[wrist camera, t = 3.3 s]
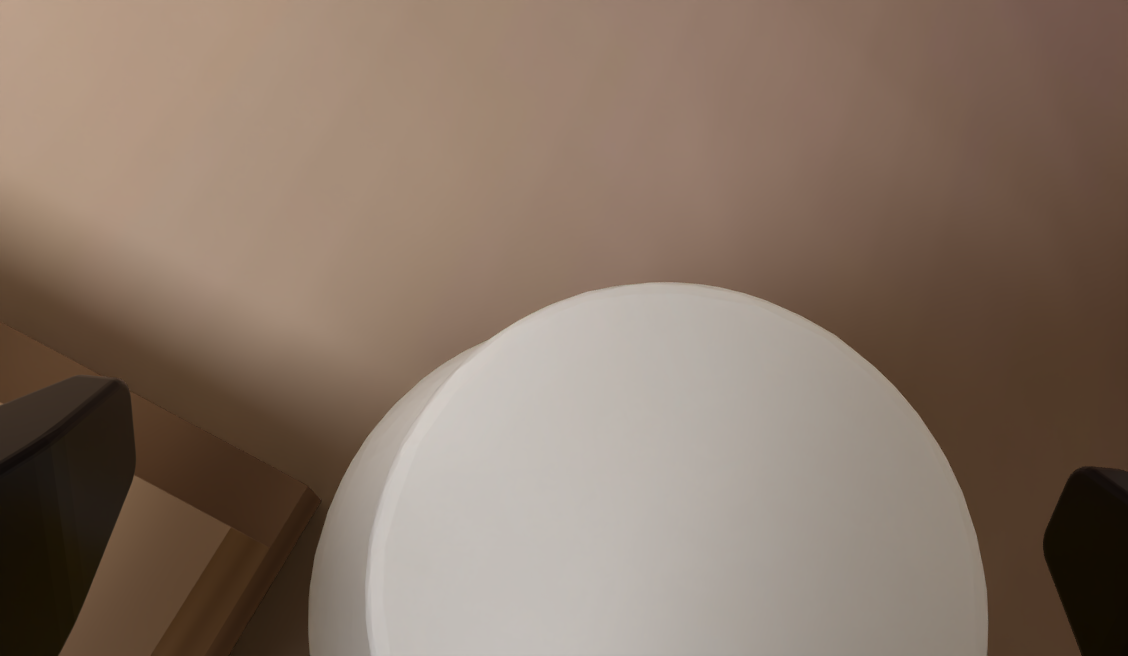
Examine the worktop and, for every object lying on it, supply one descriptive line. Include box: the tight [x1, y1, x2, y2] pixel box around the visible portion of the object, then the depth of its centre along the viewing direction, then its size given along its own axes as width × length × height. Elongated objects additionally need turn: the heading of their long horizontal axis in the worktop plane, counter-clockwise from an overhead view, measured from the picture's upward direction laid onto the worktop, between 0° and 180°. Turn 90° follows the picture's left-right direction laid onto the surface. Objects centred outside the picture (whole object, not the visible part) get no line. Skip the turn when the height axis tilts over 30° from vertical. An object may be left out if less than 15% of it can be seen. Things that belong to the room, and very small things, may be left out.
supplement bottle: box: [308, 282, 988, 656], centre depth 10 cm, size 5×5×10 cm
